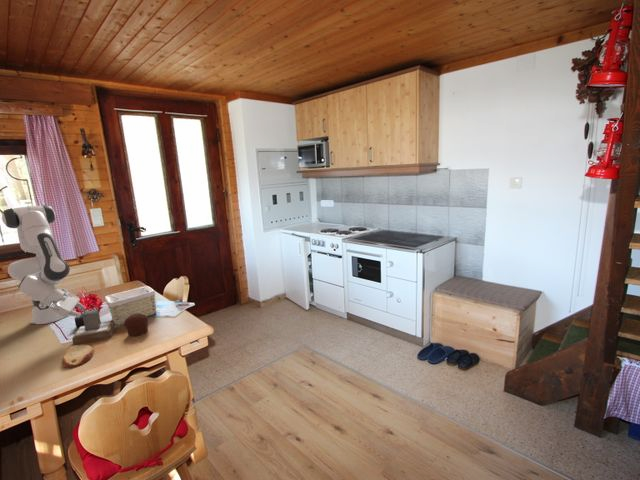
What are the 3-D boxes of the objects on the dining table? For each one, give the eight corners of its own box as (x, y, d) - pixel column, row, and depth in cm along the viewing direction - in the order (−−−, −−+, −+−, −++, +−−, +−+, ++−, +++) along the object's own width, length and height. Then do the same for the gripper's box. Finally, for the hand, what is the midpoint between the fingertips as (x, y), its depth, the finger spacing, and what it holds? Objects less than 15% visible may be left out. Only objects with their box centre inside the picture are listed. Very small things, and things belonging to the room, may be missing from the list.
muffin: (122, 339, 171) (118, 321, 169) (130, 329, 182) (127, 312, 180) (146, 336, 173) (143, 318, 171) (153, 326, 183) (150, 309, 181)
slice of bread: (77, 347, 166) (75, 340, 166) (108, 348, 163) (107, 341, 162) (42, 368, 149) (40, 360, 148) (76, 369, 146) (74, 361, 145)
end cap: (76, 330, 185) (74, 319, 183) (77, 326, 190) (74, 315, 189) (98, 325, 190) (96, 314, 189) (98, 321, 196) (95, 310, 194)
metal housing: (87, 327, 177) (84, 311, 175) (101, 324, 179) (97, 308, 177) (85, 331, 172) (82, 314, 170) (99, 328, 174) (95, 312, 173)
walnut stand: (80, 334, 180) (79, 326, 179) (114, 327, 186) (113, 319, 185) (73, 345, 167) (71, 337, 166) (110, 337, 173) (108, 329, 172)
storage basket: (113, 327, 186) (108, 302, 183) (108, 319, 198) (103, 295, 195) (159, 313, 201) (155, 290, 198) (152, 306, 213) (148, 284, 210)
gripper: (52, 300, 158) (81, 315, 164) (65, 287, 176) (91, 301, 182) (43, 311, 157) (72, 325, 163) (57, 297, 176) (83, 310, 181)
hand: (82, 312), depth 173 cm, fingers open, 8 cm apart
